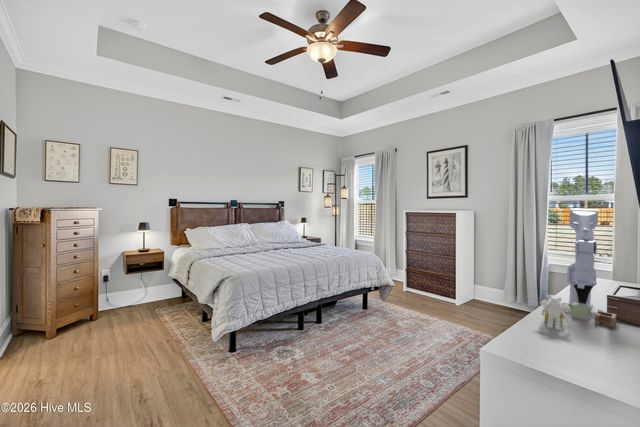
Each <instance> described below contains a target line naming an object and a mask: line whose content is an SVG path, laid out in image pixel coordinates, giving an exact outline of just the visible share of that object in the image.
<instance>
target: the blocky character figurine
mask: <svg viewBox="0 0 640 427" xmlns="http://www.w3.org/2000/svg"><path fill="white" fill-rule="evenodd" d="M548 295H549V296H548ZM552 295H553V294H547V293H545V296H546V298H548V297H549V298H552V297H551V296H552ZM547 301H548V300H547V299H543V300H542V299H541V301H540V302H539V306H541V307H542V310H541V313H540V314H541V316H545V313H546V314H547V312H548V314H549V319H548V322H547V325H546V327H547V328H550V329H553V328H554V329H555V330H558V331H561V330H562V326H561V324H560V315H561V313H562V315H563V318H564V319H565V320H566V322H570V321H569V320H570V319H569V318H570V317H569V316H568V315H567V314H566V313H568V312H569V313H571V309H572V307H571V305H567V303H566V304H565V305H564V306H563V307H562V305H561V303H562V300H561V301H559V299H558V298H555V297H553V298H552V299H550V300H549V304H548V303H547ZM563 309H564V310H563ZM565 310H566V311H565ZM546 311H547V312H546ZM554 318H555V321H556V324H553V319H554ZM553 325H554V327H553Z"/></svg>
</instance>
